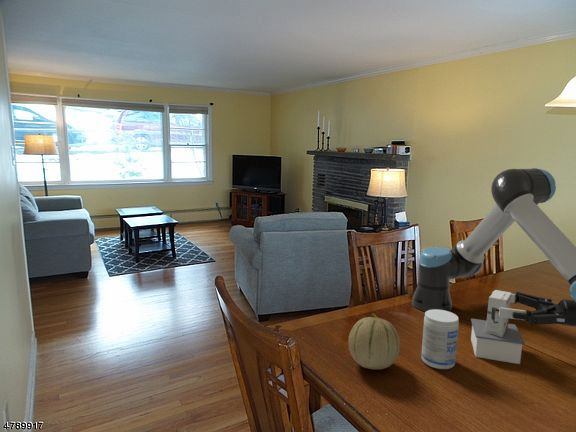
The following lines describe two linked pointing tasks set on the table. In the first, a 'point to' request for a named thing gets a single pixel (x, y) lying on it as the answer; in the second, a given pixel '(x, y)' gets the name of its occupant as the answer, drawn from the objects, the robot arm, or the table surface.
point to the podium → (496, 343)
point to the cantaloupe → (374, 343)
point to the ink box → (497, 313)
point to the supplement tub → (440, 338)
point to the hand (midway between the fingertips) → (495, 303)
